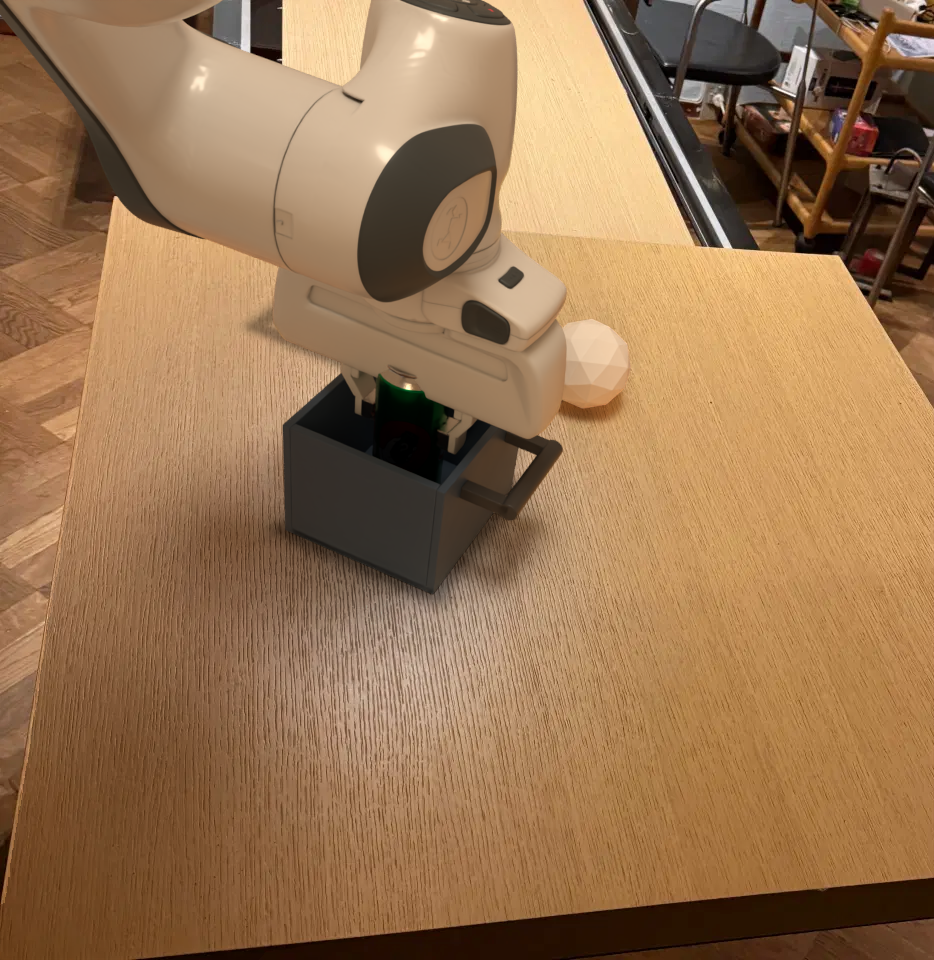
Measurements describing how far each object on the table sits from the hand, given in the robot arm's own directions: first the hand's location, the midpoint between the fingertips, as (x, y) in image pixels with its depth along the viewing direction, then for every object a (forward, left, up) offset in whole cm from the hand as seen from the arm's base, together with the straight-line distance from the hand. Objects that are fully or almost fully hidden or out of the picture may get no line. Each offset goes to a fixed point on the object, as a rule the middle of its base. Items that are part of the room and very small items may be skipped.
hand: (410, 429), depth 72 cm
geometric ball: (+21, -6, -8) cm, 23 cm away
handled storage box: (0, -2, -8) cm, 8 cm away
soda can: (0, 0, -6) cm, 6 cm away
